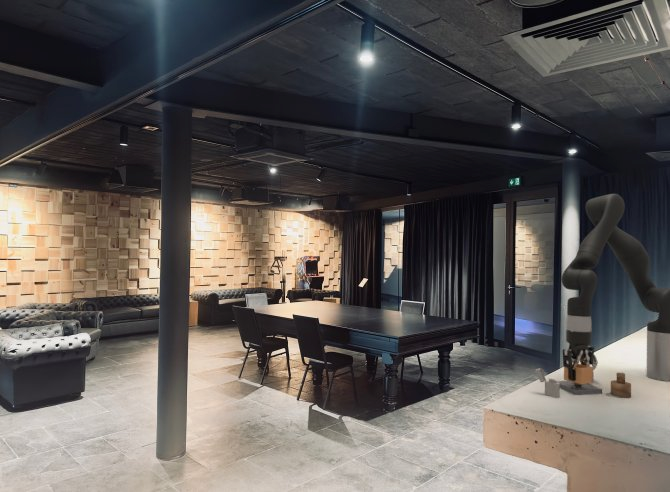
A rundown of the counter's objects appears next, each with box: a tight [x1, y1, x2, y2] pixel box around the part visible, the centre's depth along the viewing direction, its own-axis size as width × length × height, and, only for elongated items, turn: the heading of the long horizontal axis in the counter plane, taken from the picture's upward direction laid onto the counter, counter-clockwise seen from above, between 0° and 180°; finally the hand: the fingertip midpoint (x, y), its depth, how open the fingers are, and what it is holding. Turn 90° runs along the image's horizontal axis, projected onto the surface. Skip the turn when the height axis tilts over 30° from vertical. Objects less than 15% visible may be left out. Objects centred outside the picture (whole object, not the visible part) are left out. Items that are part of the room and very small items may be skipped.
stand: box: [610, 372, 632, 399], centre depth 147 cm, size 6×6×7 cm
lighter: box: [535, 367, 561, 399], centre depth 146 cm, size 7×2×8 cm, turn 49°
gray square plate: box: [556, 380, 603, 396], centre depth 153 cm, size 10×10×5 cm
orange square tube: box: [563, 362, 594, 385], centre depth 153 cm, size 6×6×5 cm
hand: (578, 378), depth 153 cm, fingers closed on orange square tube, 6 cm apart
